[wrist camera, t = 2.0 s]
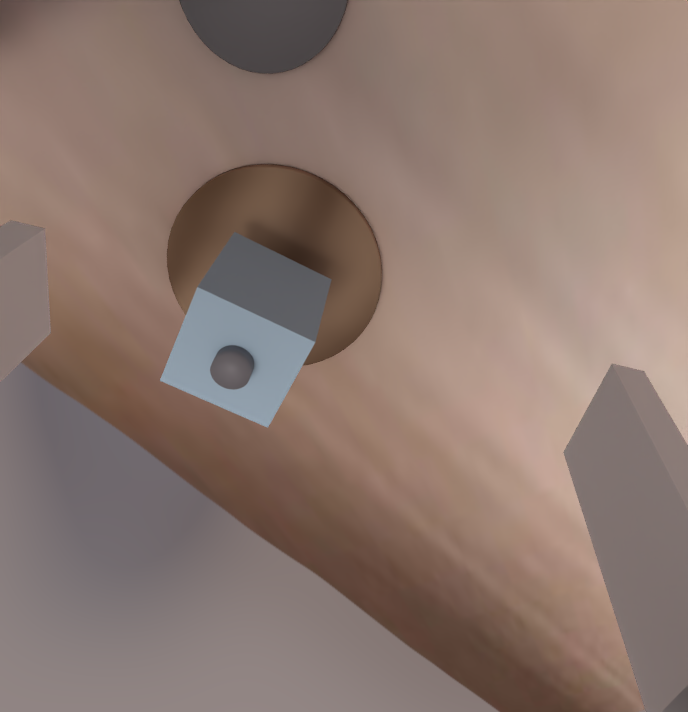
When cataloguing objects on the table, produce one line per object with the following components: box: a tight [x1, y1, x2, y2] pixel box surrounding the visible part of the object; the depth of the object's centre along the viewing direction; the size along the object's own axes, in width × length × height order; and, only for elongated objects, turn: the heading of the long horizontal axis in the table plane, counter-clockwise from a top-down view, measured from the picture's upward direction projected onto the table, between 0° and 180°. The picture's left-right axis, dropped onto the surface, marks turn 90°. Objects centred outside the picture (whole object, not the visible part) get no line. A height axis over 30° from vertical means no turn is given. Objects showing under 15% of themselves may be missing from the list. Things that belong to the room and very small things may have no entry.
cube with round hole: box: [160, 232, 331, 427], centre depth 34 cm, size 6×6×8 cm
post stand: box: [167, 164, 382, 366], centre depth 36 cm, size 14×14×10 cm
